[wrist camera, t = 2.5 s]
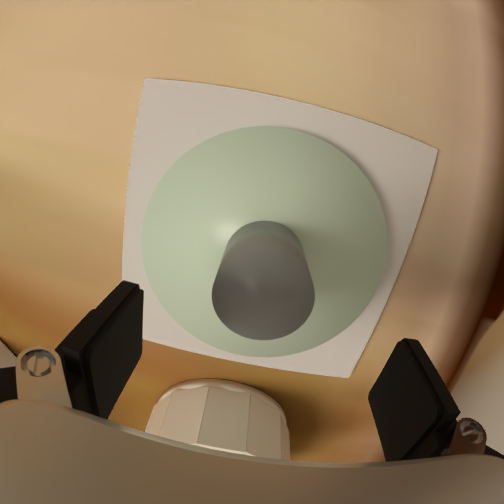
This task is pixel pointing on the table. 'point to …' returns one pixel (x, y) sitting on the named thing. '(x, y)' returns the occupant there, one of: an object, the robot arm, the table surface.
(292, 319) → the lid
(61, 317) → the table surface
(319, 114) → the mat
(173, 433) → the bowl
